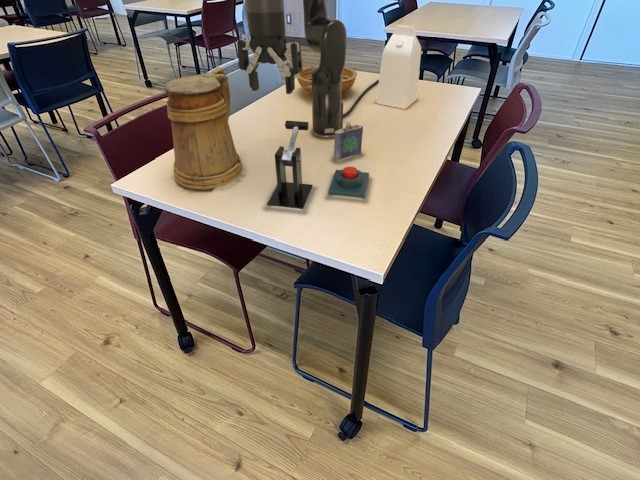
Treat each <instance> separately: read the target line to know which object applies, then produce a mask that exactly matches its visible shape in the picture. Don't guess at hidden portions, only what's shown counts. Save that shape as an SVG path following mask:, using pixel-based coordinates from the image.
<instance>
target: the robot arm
mask: <svg viewBox="0 0 640 480" xmlns="http://www.w3.org/2000/svg"><path fill="white" fill-rule="evenodd" d="M284 1H285V0H245V7H246V15H247V27H248V33H249V36H250V38H249V39H250V40H249V39H247V38H246V37H245V38H244V37H243V38H240V39H239V40H237V41H236V46H237V47H236V48H237V57H238V68H239V70H241V71H245V72H246V73H247V75H248V81H249V83H248V85H249V87H250V88H251V91H253V92H256V91H258V90H260V82H259V73H258V71H257V70H258V68H259V66H260V64H270V65H275V64H276V65H277V67H278V68H279V69H281V70H282V71H283V73H284V75H285V77H284V80H285V82H284V83H285V92H286V95H291V94H292V93H293V92H294V91H295V89H296V83H295V82H296V81H295V76H296V74H298V73H299V72H301V71H302V69H303V60H302V59H303V58H302V48H301V47H302V46H301V42H300V41H299V40H296V41H294V42H288V41H287V39H286V20H285V19H286V17H285V2H284ZM302 7H303V8H302V9H303V27H304V28H303V29H304V38H305V42H306V44H307V47H308V48H309V49H310V50H312V51H313V52H315V53H317V54H320V57H319V64H317V65H318V66H317V65H314V66H315V67H314V68H313V69H312V72H311V76H312V93H311V118H312V119H311V121H312V129H311V131H312V135H313V136H315V137H317V138H321V139H333V138H335V135H334V134H335V131H337V130H340V129H343V128H344V126H343V125H344V118H345V117H347V116H348V115H349V114H350V113H351V112H352V111H353V110H354V109H355V107H356V106H357V105H358V103H359V101H360V100H361V99H362V98H363V96H364V95H365V94H366V93H367V92H368V91H369V90H370V89H371V88H373V87H374V86H375V85H377V84H379V79H377V80H376V81H375V82H372V84H370V85H369V86H368V87H367V88H366V89H365V90H363V92H361V94H360V95H359V96H358V97H357V98H356V100H355V101H354V103H353V104H352V105H351V107H350V108H349V109H348V111H346V112H345V113H344V102H342V93H343V92H342V73H343V70H344V67H346V58H347V57H346V56H347V47H348V46H347V44H348V34H347V33H348V32H347V28H346V26H345V24H344V23H343V22H342V21H341V20H340V19H336V18H332V17H329V16H328V12H327V11H328V10H327V1H326V0H302ZM250 49H251V51H252V53H253V55H252V56H251V59H250V57H249V56H250V55H249V50H250ZM287 50H288V54H290V55H291V56H290V57H291V61H290V59H289V57H288V56H287V54H286V52H287Z"/></svg>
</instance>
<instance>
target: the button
mask: <svg viewBox="0 0 640 480" xmlns="http://www.w3.org/2000/svg"><path fill="white" fill-rule="evenodd" d="M357 170H358V168H357V167H355V166H346V167H343V177H344V178H346V179H354V178H356V177H357Z"/></svg>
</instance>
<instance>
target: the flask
mask: <svg viewBox="0 0 640 480" xmlns="http://www.w3.org/2000/svg"><path fill="white" fill-rule="evenodd" d="M363 130H364V126H362V125H360V124H354V125H352V124H351V122H350V121H345V127H343V129H340V130H337V131H335V134H334V135H335V137H334V141H333V143H334V145H333V159H334V160H337V161H339V160H342V159H344V158H347V157H351V156H354V155H359V154H361V153H362V144H363V134H364V132H363Z"/></svg>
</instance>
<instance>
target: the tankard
mask: <svg viewBox="0 0 640 480" xmlns="http://www.w3.org/2000/svg"><path fill="white" fill-rule="evenodd" d="M164 91H165V93H166V94H167V97H168V98H167V100H166V110H167V111H166V112H167V117H168V120H170V126H171V133H172V143H173V155H174V161H173V165H172V166H173V170H172V171H173V177H174V180H175V182H176V183H178V184H179V185H180V186H182V187H185V188H188V189H194V190H211V189H212V190H213V189H216V188H219V187H224V186H226V185H229V184H231V183H232V182H234V181H235V180H236V179H238V177H239V176H241V174H242V172H243V170H244V167H243V166H244V165H243V163H242V159H241V158H242V157H241V156H240V154H239V153H238V152H237V148H236V145H235V142H234V139H233V135H232V132H231V128H230V124H229V118H230V112H231V111H230V110H231V89H230V85H229V79H228V76H227V75H226V73H225V72H224V68H222V67H221V66H218V67H216V68H214V69H212V70H211V71H210V72H204V73H203V72H202V73H199V74H194V75H186V76H182V77H178V78H174V79H171V80H169V81H168V82H166V83H165V86H164Z"/></svg>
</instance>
